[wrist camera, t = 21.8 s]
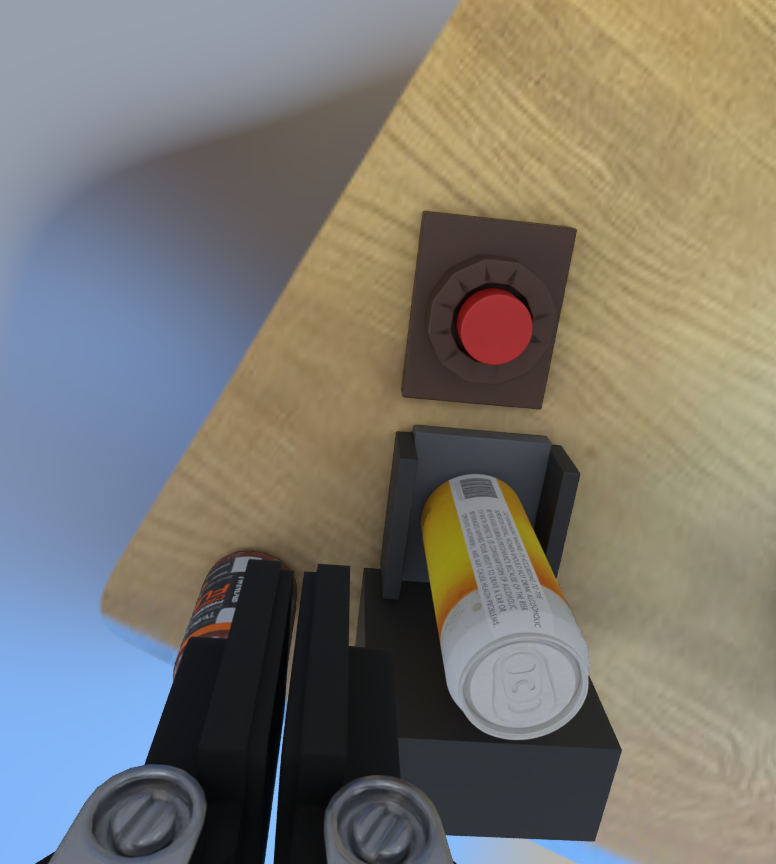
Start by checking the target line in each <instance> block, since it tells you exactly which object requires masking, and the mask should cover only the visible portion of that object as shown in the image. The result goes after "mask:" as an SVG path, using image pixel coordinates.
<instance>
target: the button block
mask: <svg viewBox="0 0 776 864" xmlns="http://www.w3.org/2000/svg"><path fill="white" fill-rule="evenodd" d="M576 232H577V230H576V229H575V228H572V227H567V226H558V225H549V224H540V223H531V222H522V221H513V220H504V219H495V218H486V217H477V216H467V215H458V214H449V213H440V212H431V211H423V213H422V221H421V229H420V238H419V246H418V254H417V262H416V271H415V279H414V287H413V296H412V304H411V312H410V321H409V329H408V337H407V346H406V354H405V362H404V370H403V379H402V387H401V392H402V397H407V398H419V399H430V400H441V401H452V402H463V403H474V404H485V405H497V406H508V407H519V408H530V409H541V408H542V403H543V398H544V393H545V388H546V383H547V378H548V373H549V368H550V363H551V358H552V353H553V348H554V343H555V337H556V332H557V327H558V322H559V317H560V312H561V307H562V302H563V297H564V292H565V287H566V282H567V277H568V272H569V267H570V262H571V257H572V252H573V247H574V242H575V237H576ZM489 288H498V289H502V290H506V291H508V292H510V293H511V294H513V295H514V296H515V297H516V298H517V299H518V300H520V301H521V302H522V303H523V304H524V305H525V307H526V308H527V309H528V311H529V313H530V315H531V319H532V326H533V329H532V336H531V339H530V342H529V344H528V345H527V347H526V349H525V350H524V351H523V352H522V353H521V354H520V355H519V356H518V357H517V358H515V359H514V360H512V361H510V362H507V363H504V364H500V365H489V364H485V363H482V362H479V361H477V360H476V359H474V358H473V357H472V356H471V355H470V354H469V353H468V352H467V351H466V349H465V347H464V345H463V344H462V342H461V340H460V338H459V335H458V332H457V317H458V314H459V311H460V309H461V307H462V305H463V304H464V302H465V301H466V300H467V299H468V298H469V297H470V296H472V295H473V294H475V293H477V292H478V291H481V290H484V289H489Z"/></svg>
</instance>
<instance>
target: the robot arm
mask: <svg viewBox="0 0 776 864" xmlns="http://www.w3.org/2000/svg"><path fill="white" fill-rule="evenodd" d="M293 580H294V571H290V570H282V561H273V560H259V559H249V560H248V563H247V567H246V570H245V574H244V578H243V582H242V585H241V589H240V593H239V597H238V600H237V604H236V608H235V612H234V615H233V619H232V623H231V627H230V630H229V634H228V638H211V637H195V636H191V637H190V638H189V639H188V642H187V644H186V646H185V649H184V652H183V655H182V658H181V661H180V664H179V667H178V669H177V672H176V675H175V678H174V681H173V684H172V687H171V690H170V693H169V695H168V698H167V701H166V704H165V707H164V710H163V713H162V716H161V719H160V721H159V724H158V727H157V730H156V733H155V736H154V739H153V742H152V744H151V748H150V750H149V753H148V756H147V759H146V762H145V765H143V766H138V767H134V768H130V769H127V770H125V771H123V772H121V773H118V774H116V775H114V776H112V777H111V778H109V779H108V780H107V781H106V782H104V783H103V784H102V785H100V786H99V787H97V789H96V790H95V791H94V792H93V793H92V795H91V796H90V797H89V798H88V800H87V801H86V802H85V803H84V805H83V807H82V808H81V810H80V812H79V813H78V815H77V817H76V818H75V820H74V822H73V823H72V825H71V826H70V828H69V830H68V832H67V833H66V835H65V836H64V838H63V840H62V841H61V843H60V845H59V846H58V848H57V850H56V851H55V852H53V853H52V854H50V855H49V856H47V857H45V858H44V859H43V860H40V861H39V862H37V863H36V864H264V863H265V856H266V848H267V840H268V832H269V824H270V817H271V810H272V802H273V794H274V787H275V779H276V770H277V763H278V756H279V749H280V741H281V733H282V725H283V717H284V708H285V696H286V681H287V667H288V653H289V638H290V624H291V609H292V595H293ZM349 599H350V566H343V565H329V564H318V568H317V572H304V577H303V585H302V593H301V601H300V608H299V616H298V624H297V632H296V640H295V648H294V656H293V664H292V671H291V679H290V687H289V695H288V703H287V711H286V719H285V727H284V735H283V744H282V754H281V765H280V778H279V792H278V807H277V823H276V835H275V850H274V864H456V863H455V862H454V861H453V859H452V856H451V853H450V849H449V846H448V842H447V839H446V835H445V832H444V829H443V825H442V822H441V818H440V816H439V814H438V812H437V810H436V808H435V806H434V804H433V802H432V801H431V800H430V799H429V798H428V797H427V796H426V795H425V793H424V792H423V791H422V790H420V789H419V788H417V787H415V786H414V785H412V784H411V783H409V782H408V781H405V780H402V779H401V776H400V761H399V747H398V732H397V717H396V703H395V688H394V673H393V658H392V651H391V649H387V648H371V647H355V646H349Z"/></svg>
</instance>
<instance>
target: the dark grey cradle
mask: <svg viewBox="0 0 776 864" xmlns="http://www.w3.org/2000/svg"><path fill="white" fill-rule="evenodd" d="M469 474H482V475H488V476H491V477H494V478H497V479H499V480H501V481H503V482H504V483H506V484H507V485H508V486H509V487H511V488H512V490H513V491H514V492H515V493H516V495H517V496H518V498H519V500H520V502H521V504H522V506H523V508H524V511H525V513H526V515H527V517H528V519H529V521H530V524H531V526H532V528H533V530H534V532H535V534H536V537H537V539H538V541H539V543H540V545H541V547H542V550H543V552H544V554H545V556H546V558H547V560H548V563H549V565H550V567H551V569H552V571H553V573H554V576H555V578H556V579H557V574H558V570H559V565H560V561H561V557H562V552H563V548H564V543H565V539H566V535H567V530H568V526H569V522H570V517H571V513H572V508H573V504H574V500H575V495H576V491H577V486H578V482H579V478H580V472H579V471H578V469H577V468H576V466H575V465H574V464H573V462H572V461H571V459H570V458H569V456H568V455H567V453H566V452H565V450H564V449H563V448H562V446H559V445H552V444H551V442H550V441H549V439H548V438H547V436H537V435H526V434H514V433H502V432H491V431H479V430H468V429H456V428H445V427H433V426H422V425H414V429H413V433H410V432H398V431H397V432H396V437H395V445H394V453H393V462H392V470H391V478H390V487H389V495H388V503H387V512H386V520H385V528H384V536H383V545H382V553H381V561H380V563H381V569H369V568H364V572H363V581H362V590H361V599H360V608H359V617H358V626H357V635H356V644H355V647H371V648H387V649H391V651H392V658H393V673H394V688H395V703H396V717H397V732H398V747H399V761H400V776H401V779H402V780H405V781H408V782H409V783H411V784H412V785H414V786H415V787H417V788H419V789H420V790H422V791H423V792H424V793H425V795H426V796H427V797H428V798H429V799H430V800H431V801H432V802H433V804H434V806H435V808H436V810H437V812H438V814H439V816H440V818H441V822H442V825H443V829H444V832H445V835H453V836H476V837H500V838H523V839H547V840H570V841H595V839H596V835H597V832H598V829H599V825H600V822H601V819H602V815H603V812H604V809H605V805H606V802H607V799H608V795H609V792H610V788H611V785H612V782H613V778H614V775H615V772H616V768H617V765H618V762H619V758H620V755H621V752H622V749H621V747H620V745H619V742H618V740H617V738H616V735H615V733H614V731H613V729H612V726H611V724H610V722H609V720H608V717H607V715H606V713H605V710H604V708H603V706H602V704H601V701H600V699H599V697H598V695H597V692H596V690H595V688H594V685H593V683H592V681H591V679H590V676H589V675H588V682H589V683H588V692H587V696H586V698H585V701H584V703H583V705H582V707H581V708H580V710H579V711H578V712H577V714H576V715H575V716H574V717H573V718H572V719H571V720H570V721H569V722H567V723H566V724H565V725H564V726H562V727H560V728H559V729H557V730H555V731H553V732H551V733H549V734H546V735H544V736H540V737H537V738H532V739H525V740H509V739H502V738H498V737H494V736H492V735H489V734H487V733H485V732H483V731H481V730H480V729H478V728H477V727H476V726H475V725H473V724H472V723H471V722H470V721H469V719H468V718H467V717H466V715H465V714H464V712H463V710H462V709H460V707H459V706H458V705H457V704H456V703H455V701H454V700H453V698H452V696H451V694H450V692H449V689H448V686H447V681H446V675H445V669H444V663H443V657H442V651H441V645H440V639H439V633H438V627H437V621H436V615H435V609H434V603H433V597H432V591H431V585H430V579H429V573H428V567H427V561H426V555H425V549H424V543H423V537H422V531H421V515H422V510H423V508H424V505H425V503H426V501H427V500H428V498H429V497H430V495H431V494H432V493H433V492H434V491H435V490H436V489H437V488H438V487H439V486H441V485H442V484H443V483H445V482H447V481H449V480H451V479H453V478H456V477H459V476H463V475H469Z"/></svg>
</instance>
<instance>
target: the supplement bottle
mask: <svg viewBox="0 0 776 864" xmlns="http://www.w3.org/2000/svg"><path fill="white" fill-rule="evenodd" d="M249 559H259V560H273V561H280V560H278V559H276V558H275V557H273V556H271V555H268V554H265V553H261V552H255V551H243V552H236V553H233V554H231V555H228V556H226V557H224V558H223V559H221V560H220V561H218V562H217V563H216V564H215V565H214V566H213V567H212V569H211V570H210V571H209V573H208V575H207V577H206V579H205V581H204V583H203V586H202V589H201V592H200V595H199V598H198V600H197V602H196V606H195V609H194V612H193V614H192V617H191V620H190V623H189V625H188V628H187V631H186V634H185V636H184V639H183V642H182V644H181V648H180V651H179V653H178V656H177V659H176V662H175V666H174V671H173V681H174V678H175V675H176V672H177V669H178V667H179V664H180V661H181V658H182V655H183V652H184V649H185V646H186V644H187V642H188V639H189V638H190V637H191V636H195V637H211V638H228V634H229V630H230V627H231V623H232V619H233V615H234V612H235V608H236V604H237V600H238V597H239V593H240V589H241V585H242V582H243V578H244V574H245V570H246V567H247V563H248V560H249ZM282 570H289V569H288V568H287V567H286V565H284V564H283V563H282ZM296 601H297V584H296V581H295V579H294V580H293V595H292V609H291V624H290V638H289V653H290V646H291V639H292V632H293V625H294V619H295V612H296ZM289 653H288V660H289ZM287 668H288V667H287Z"/></svg>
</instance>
